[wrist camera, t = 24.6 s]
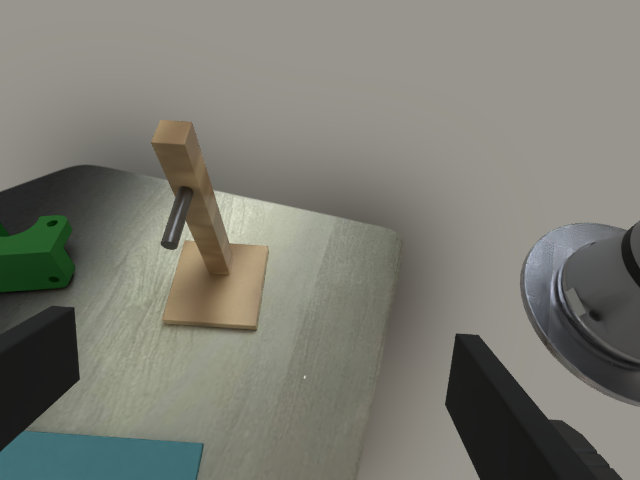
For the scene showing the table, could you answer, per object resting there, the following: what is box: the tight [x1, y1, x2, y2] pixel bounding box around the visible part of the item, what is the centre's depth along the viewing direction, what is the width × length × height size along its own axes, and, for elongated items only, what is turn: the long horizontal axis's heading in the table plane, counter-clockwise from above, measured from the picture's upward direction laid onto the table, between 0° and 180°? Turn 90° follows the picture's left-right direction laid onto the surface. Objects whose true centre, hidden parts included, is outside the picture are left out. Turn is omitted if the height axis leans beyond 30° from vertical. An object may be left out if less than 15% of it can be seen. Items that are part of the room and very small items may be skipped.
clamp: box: [0, 215, 75, 292], centre depth 43 cm, size 12×6×9 cm, turn 90°
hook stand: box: [151, 120, 269, 330], centre depth 36 cm, size 10×10×21 cm
